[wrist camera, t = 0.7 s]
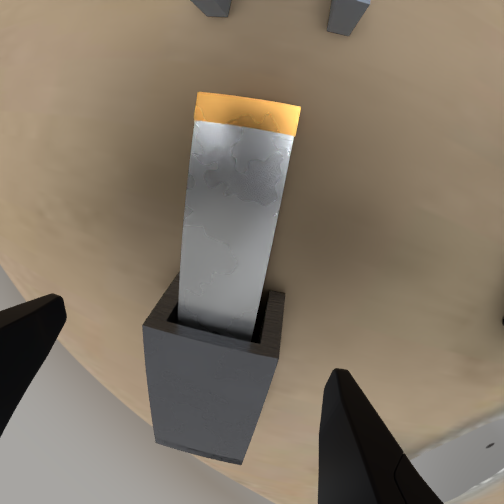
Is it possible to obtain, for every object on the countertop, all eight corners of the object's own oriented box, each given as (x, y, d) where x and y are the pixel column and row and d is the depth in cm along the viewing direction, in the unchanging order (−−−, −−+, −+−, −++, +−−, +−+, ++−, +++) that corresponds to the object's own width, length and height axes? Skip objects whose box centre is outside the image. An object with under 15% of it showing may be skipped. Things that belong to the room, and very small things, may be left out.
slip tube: (299, 109, 15) (301, 107, 11) (238, 395, 24) (228, 438, 20) (223, 97, 15) (197, 91, 11) (192, 384, 25) (176, 424, 21)
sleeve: (285, 293, 20) (278, 358, 14) (252, 409, 25) (241, 465, 20) (180, 270, 20) (142, 325, 15) (177, 391, 26) (155, 442, 20)
